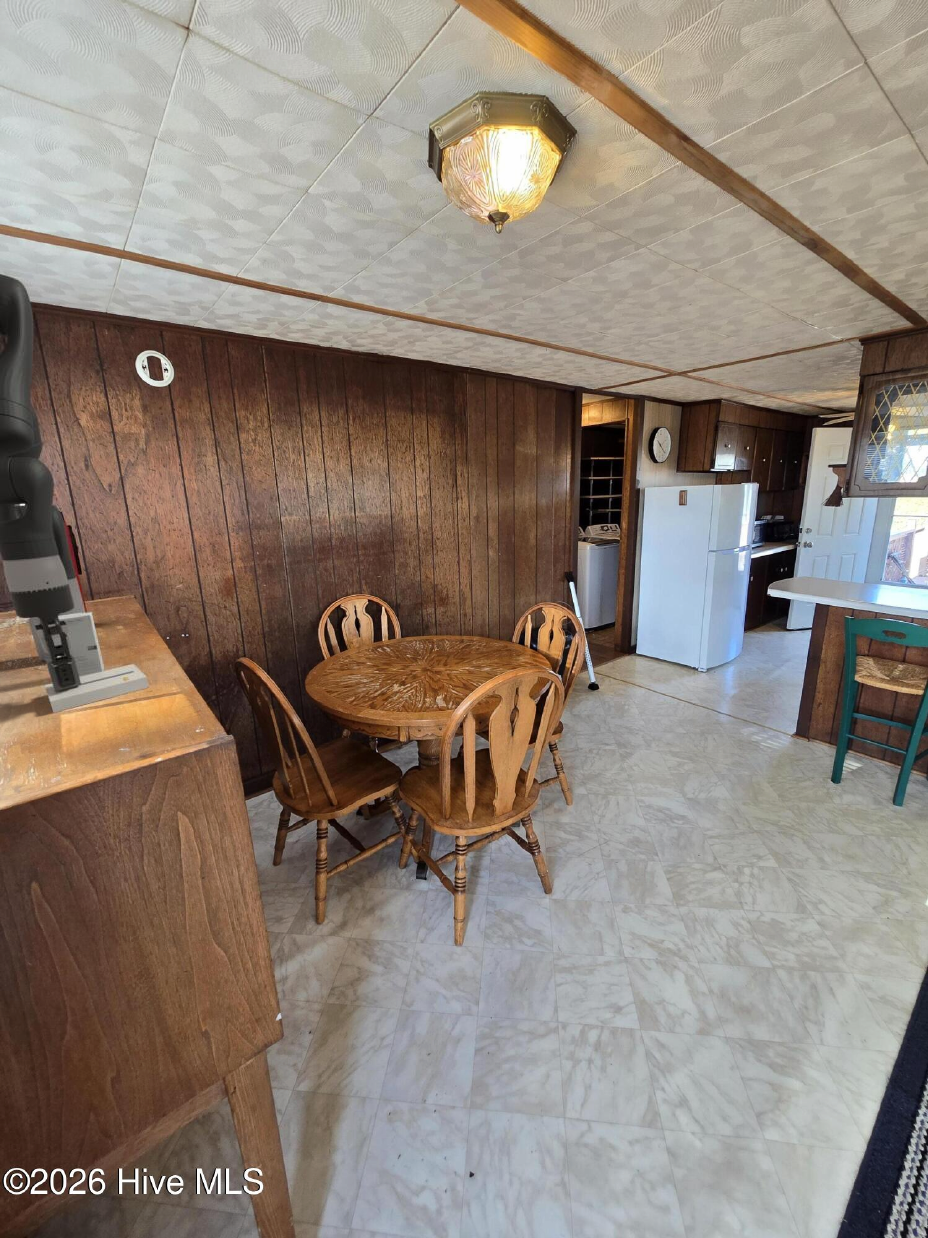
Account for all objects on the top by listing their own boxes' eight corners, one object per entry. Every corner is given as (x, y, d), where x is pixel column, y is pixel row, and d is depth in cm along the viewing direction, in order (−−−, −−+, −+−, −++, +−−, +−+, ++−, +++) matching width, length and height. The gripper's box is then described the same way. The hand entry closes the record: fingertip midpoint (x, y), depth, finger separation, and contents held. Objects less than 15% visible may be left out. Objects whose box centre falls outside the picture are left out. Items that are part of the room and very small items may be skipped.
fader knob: (55, 691, 83) (46, 662, 82) (53, 686, 85) (45, 658, 84) (81, 684, 86) (73, 656, 84) (78, 680, 88) (71, 653, 86)
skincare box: (66, 681, 95) (49, 620, 92) (68, 674, 99) (52, 616, 96) (105, 673, 98) (89, 614, 95) (106, 667, 102) (91, 610, 99)
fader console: (53, 712, 80) (50, 701, 80) (47, 695, 88) (44, 684, 88) (149, 687, 89) (146, 676, 89) (135, 673, 97) (133, 663, 96)
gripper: (73, 585, 78) (99, 686, 83) (63, 577, 88) (87, 668, 93) (10, 594, 73) (42, 701, 78) (7, 584, 83) (35, 680, 88)
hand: (66, 682), depth 85 cm, fingers closed on fader knob, 3 cm apart
